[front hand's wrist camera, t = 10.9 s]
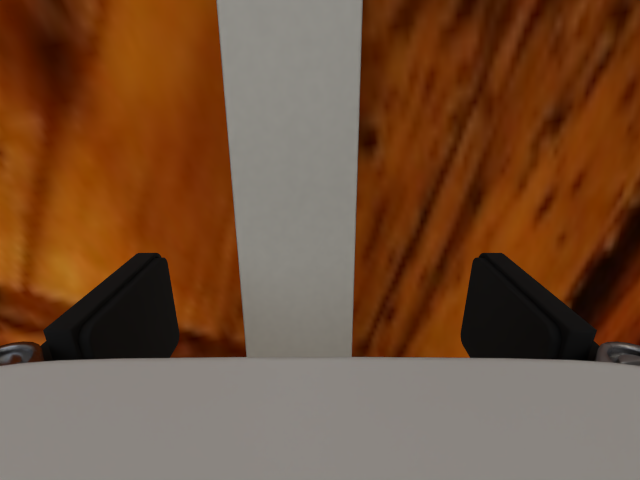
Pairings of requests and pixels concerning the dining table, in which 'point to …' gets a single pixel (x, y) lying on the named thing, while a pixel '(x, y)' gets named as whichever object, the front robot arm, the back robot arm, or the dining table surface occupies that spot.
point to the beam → (294, 168)
